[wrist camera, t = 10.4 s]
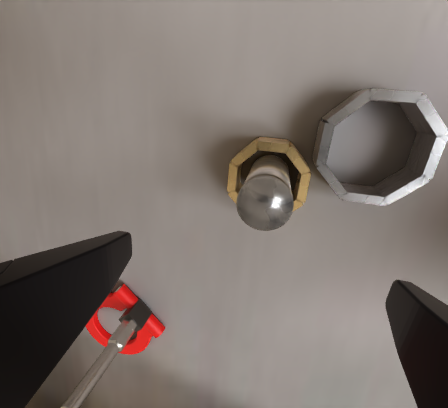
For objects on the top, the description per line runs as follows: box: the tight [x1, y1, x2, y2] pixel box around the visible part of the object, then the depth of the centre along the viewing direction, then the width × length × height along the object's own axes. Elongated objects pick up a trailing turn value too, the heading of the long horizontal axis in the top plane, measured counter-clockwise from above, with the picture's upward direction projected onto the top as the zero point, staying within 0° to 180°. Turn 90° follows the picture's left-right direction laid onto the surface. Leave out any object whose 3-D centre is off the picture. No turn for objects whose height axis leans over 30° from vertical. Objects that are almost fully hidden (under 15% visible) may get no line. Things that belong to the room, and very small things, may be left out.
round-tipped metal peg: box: [236, 155, 294, 231], centre depth 18 cm, size 3×3×7 cm
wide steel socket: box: [312, 88, 448, 206], centre depth 18 cm, size 7×7×2 cm
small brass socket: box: [227, 137, 311, 211], centre depth 20 cm, size 6×6×2 cm
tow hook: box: [61, 284, 165, 408], centre depth 25 cm, size 8×13×9 cm
